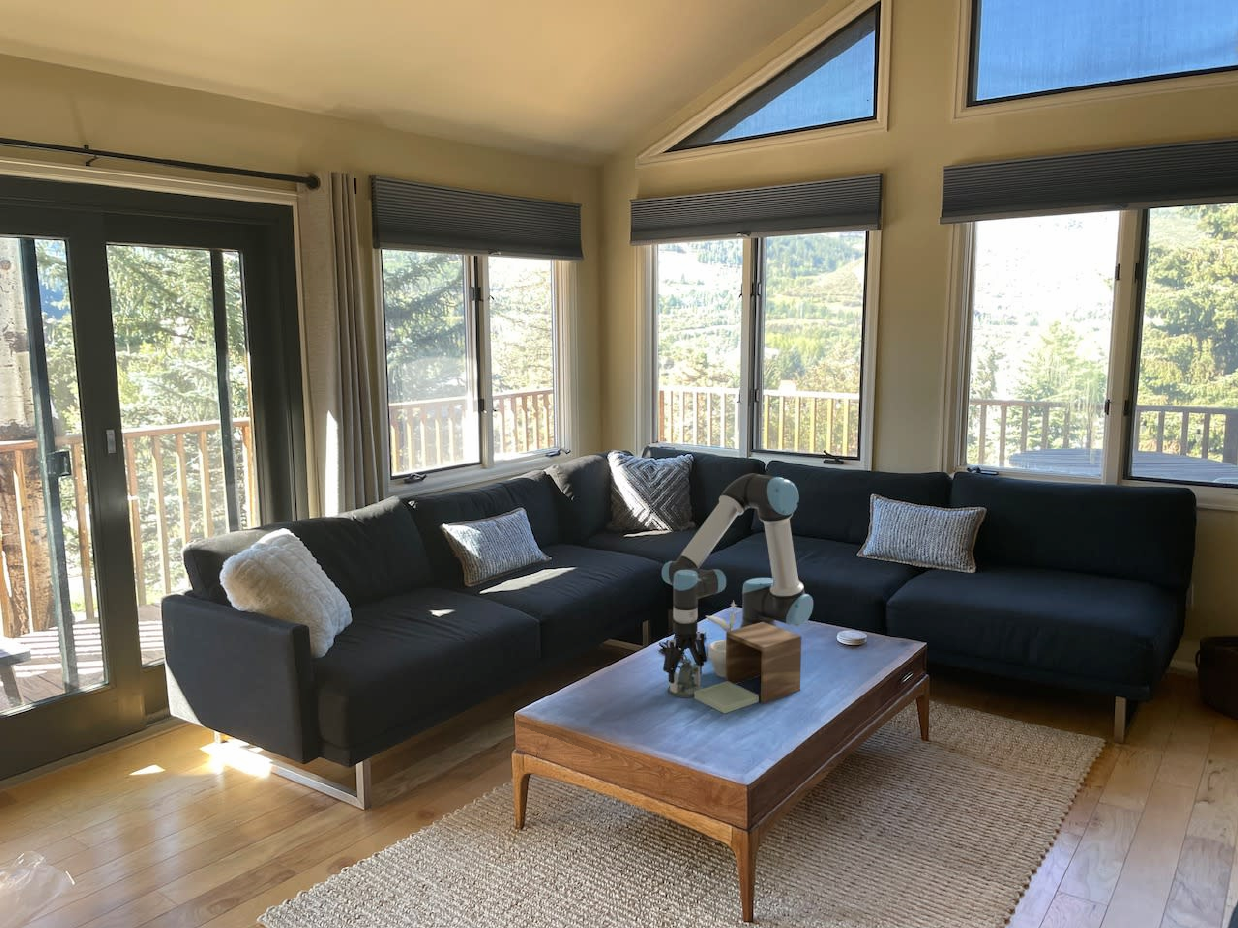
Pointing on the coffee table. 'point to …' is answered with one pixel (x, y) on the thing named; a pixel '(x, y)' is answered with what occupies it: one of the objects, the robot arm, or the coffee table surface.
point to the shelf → (764, 659)
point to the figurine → (686, 679)
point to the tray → (726, 697)
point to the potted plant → (720, 644)
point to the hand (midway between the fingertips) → (685, 688)
